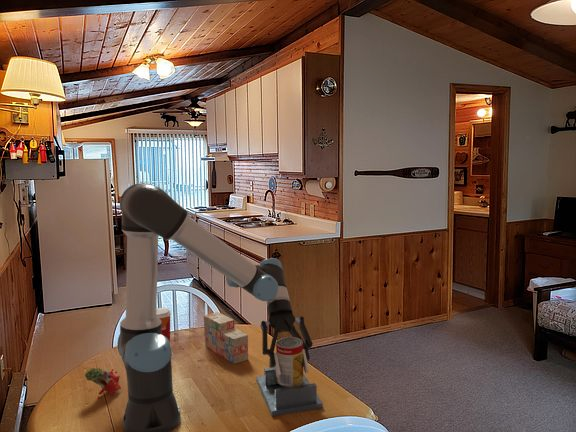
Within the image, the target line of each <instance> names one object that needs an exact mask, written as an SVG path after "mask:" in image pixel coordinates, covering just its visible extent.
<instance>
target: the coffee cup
mask: <svg viewBox="0 0 576 432" xmlns="http://www.w3.org/2000/svg"><path fill="white" fill-rule="evenodd" d="M171 315H172V312H171V311H170V309H169V308H168V307H159V308H158V307H157V309H156V316H157V317H158V318H159V319H160V320H161V335H163V336H165V337H166V338H167V339H168V340H169V342H170V343H171Z"/></svg>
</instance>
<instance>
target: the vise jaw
mask: <svg viewBox="0 0 576 432" xmlns="http://www.w3.org/2000/svg"><path fill="white" fill-rule="evenodd" d="M263 369H264V370H263V371H264V372H263V373H264V375H265V385H272V384H278V382H277V376H276V370H275V366H271V362H270V357H269V358H268V367H267V368H263ZM264 375H263V376H264Z"/></svg>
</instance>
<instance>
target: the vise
mask: <svg viewBox="0 0 576 432" xmlns="http://www.w3.org/2000/svg"><path fill="white" fill-rule="evenodd" d="M256 382H257V385H258V388H259V389H260V390H259V391H260V392H261V394H262V397H263V399H264V401H265V404H266V406H267V408H268V411H269V414H270V415H271V417H276V416H282V415H288V414H295V413H299V412H300V413H301V412H307V411H313V410H320V409H323V407H324V402H323V401H322V400H321V398H320V397H319V395H318V392H317V388H318V387H317V384H316V383H314V382H313V383H310V381H309V379H307V377H306V376H305V373H303V382H302V383H301V384H300V385H298V386H292V387H286V386H282V385H280V384H279V383H278V384H272V385H265V375H258V376H256Z"/></svg>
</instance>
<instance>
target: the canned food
mask: <svg viewBox="0 0 576 432" xmlns="http://www.w3.org/2000/svg"><path fill="white" fill-rule="evenodd" d="M275 348H276V349H275V350H276V351H275V353H277V357H278V362H279V367H280V372H281V375H280V377H279V378H277V382H278V383H279V384H280V385H282V386H286V387H292V386H298V385H300V384H301V383H302V382H303V374H304V367H303V341H302V340H301V339H299V338H296V337H293V336H285V337H280V338H279V339H278V338H277V340H276V345H275Z"/></svg>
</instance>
